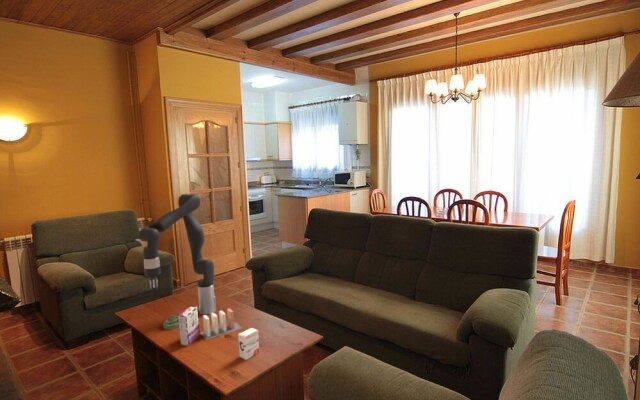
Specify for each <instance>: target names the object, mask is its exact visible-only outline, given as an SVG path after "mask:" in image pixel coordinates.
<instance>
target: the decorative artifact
mask: <svg viewBox="0 0 640 400" xmlns="http://www.w3.org/2000/svg"><path fill="white" fill-rule="evenodd" d="M177 328H179V320H178V315H174V314H171V315H170V316H168V317H167V318H166V319H165V321H163V329H164V330H166V331H167V330H174V329H177Z"/></svg>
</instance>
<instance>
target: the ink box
mask: <svg viewBox="0 0 640 400" xmlns="http://www.w3.org/2000/svg"><path fill="white" fill-rule="evenodd" d="M237 337H238V348H239V350H238V351H239V357H240V358H242V359H243V360H245V361H246V360H249V359H250V358H252V357H254V356H255V355H257V354H259V353H260V347H259V346H260V345H259V344H260V343H259V342H260V341H259V340H260V339H259V329H256V328H254V327H250V328H248V329H247V330H245V331H242V332H239V333H238V335H237Z"/></svg>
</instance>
